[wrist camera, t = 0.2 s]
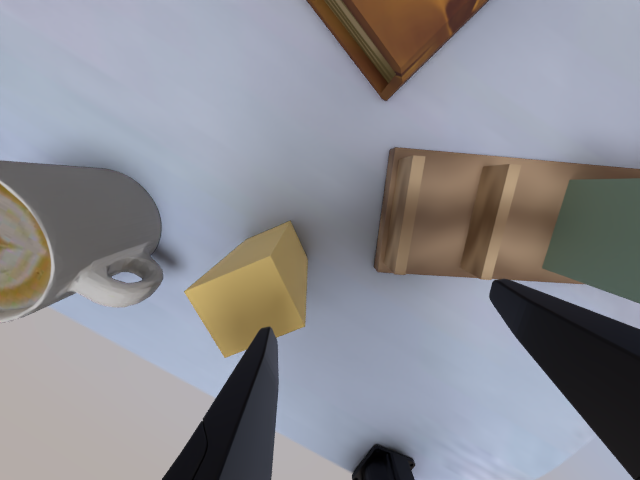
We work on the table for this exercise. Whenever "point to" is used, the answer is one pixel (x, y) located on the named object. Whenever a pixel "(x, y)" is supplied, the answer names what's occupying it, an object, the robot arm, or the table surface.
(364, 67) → the diary
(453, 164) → the shelf slot board
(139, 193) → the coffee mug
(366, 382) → the table surface
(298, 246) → the pale yellow cuboid
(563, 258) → the book row
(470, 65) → the table surface
